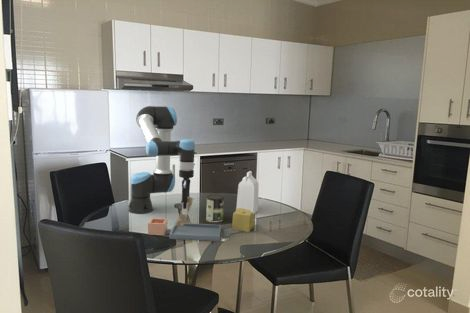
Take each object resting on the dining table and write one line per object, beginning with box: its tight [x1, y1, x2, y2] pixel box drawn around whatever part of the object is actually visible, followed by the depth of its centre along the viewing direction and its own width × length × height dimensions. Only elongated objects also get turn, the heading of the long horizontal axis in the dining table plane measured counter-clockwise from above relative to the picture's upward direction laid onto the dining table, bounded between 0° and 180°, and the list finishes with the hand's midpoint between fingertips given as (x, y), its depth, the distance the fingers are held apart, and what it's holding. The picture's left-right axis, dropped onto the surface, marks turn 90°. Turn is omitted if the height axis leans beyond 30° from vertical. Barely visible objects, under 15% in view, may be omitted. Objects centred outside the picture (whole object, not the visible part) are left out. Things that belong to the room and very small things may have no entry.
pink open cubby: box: [147, 217, 169, 236], centre depth 203 cm, size 9×9×6 cm
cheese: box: [231, 208, 256, 233], centre depth 214 cm, size 10×11×10 cm
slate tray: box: [168, 222, 222, 242], centre depth 203 cm, size 26×18×2 cm
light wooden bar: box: [175, 196, 194, 228], centre depth 201 cm, size 8×4×16 cm, turn 89°
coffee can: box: [205, 194, 225, 223], centre depth 227 cm, size 10×10×14 cm
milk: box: [235, 170, 259, 215], centre depth 245 cm, size 12×12×26 cm
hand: (185, 213), depth 201 cm, fingers closed on light wooden bar, 4 cm apart
